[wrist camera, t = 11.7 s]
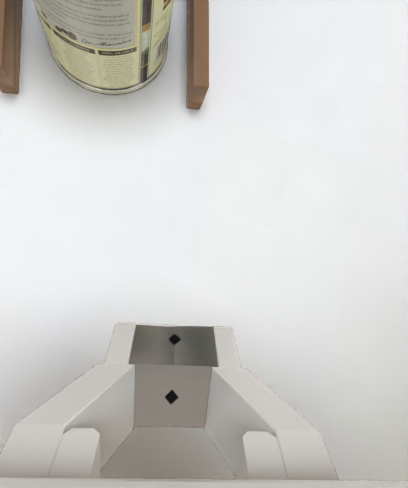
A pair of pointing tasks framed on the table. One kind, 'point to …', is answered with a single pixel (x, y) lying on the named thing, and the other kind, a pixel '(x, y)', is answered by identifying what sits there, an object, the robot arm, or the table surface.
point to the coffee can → (107, 40)
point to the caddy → (9, 38)
